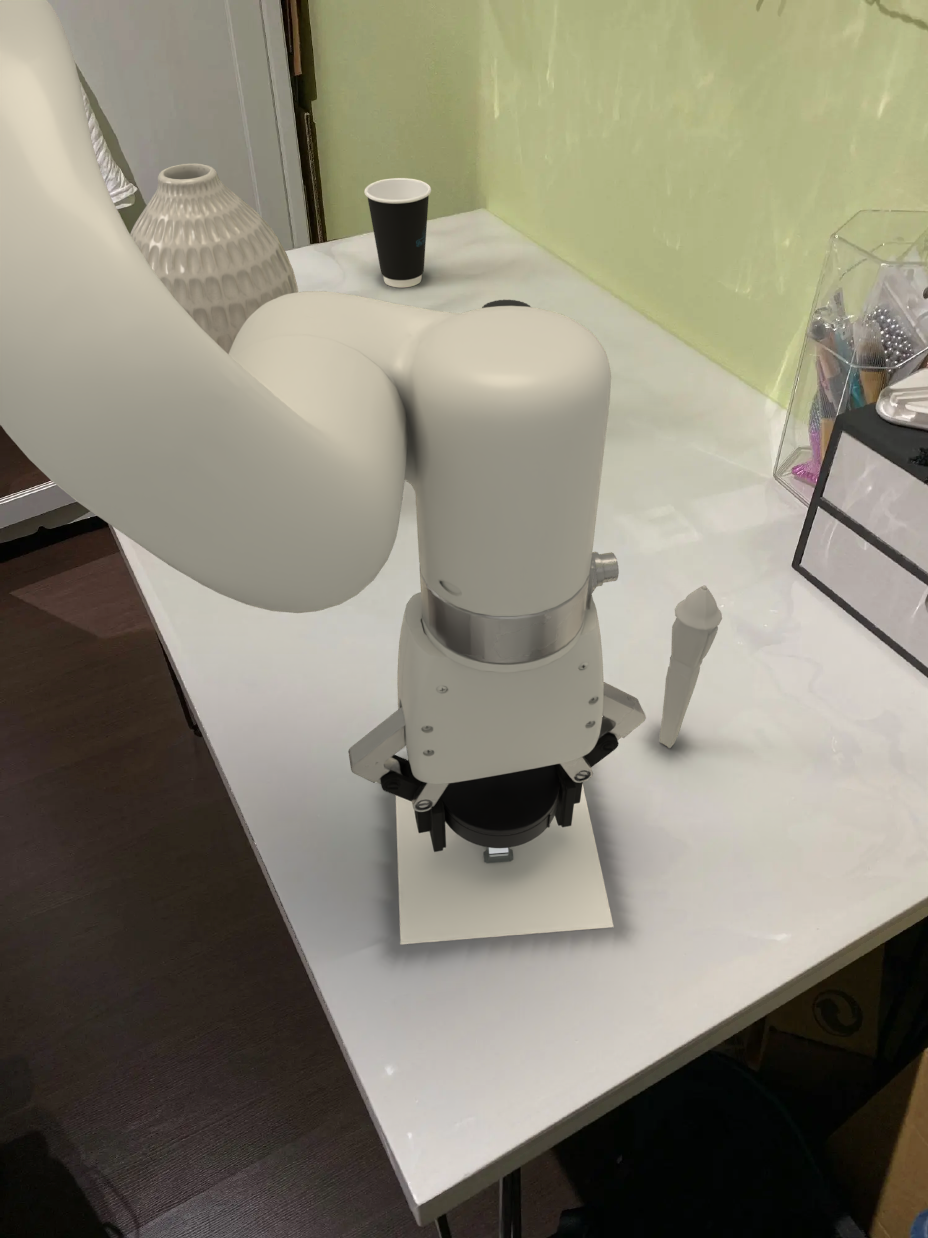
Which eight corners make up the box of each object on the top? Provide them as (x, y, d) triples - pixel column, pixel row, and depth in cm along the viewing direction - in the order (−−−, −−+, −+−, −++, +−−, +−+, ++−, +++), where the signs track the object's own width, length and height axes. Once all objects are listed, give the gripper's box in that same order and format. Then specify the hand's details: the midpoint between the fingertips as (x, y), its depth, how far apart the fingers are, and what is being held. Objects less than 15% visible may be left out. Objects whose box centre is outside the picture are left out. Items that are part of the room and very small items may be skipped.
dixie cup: (363, 272, 117) (356, 182, 109) (421, 263, 119) (417, 173, 111) (382, 296, 112) (376, 203, 104) (443, 286, 114) (440, 194, 106)
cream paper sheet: (400, 944, 50) (398, 931, 49) (394, 770, 59) (393, 756, 58) (613, 927, 51) (616, 913, 50) (576, 757, 60) (578, 743, 59)
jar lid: (581, 787, 52) (584, 769, 51) (513, 872, 48) (515, 854, 47) (484, 731, 55) (484, 713, 54) (413, 807, 51) (411, 789, 50)
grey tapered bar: (660, 722, 62) (694, 564, 52) (695, 742, 61) (737, 584, 51) (640, 744, 60) (672, 587, 51) (676, 765, 59) (715, 607, 50)
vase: (289, 352, 101) (256, 134, 86) (332, 422, 90) (303, 186, 75) (141, 381, 97) (78, 156, 81) (168, 459, 86) (102, 216, 71)
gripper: (655, 516, 45) (616, 744, 57) (304, 566, 42) (342, 793, 55) (717, 618, 40) (659, 845, 52) (319, 681, 37) (358, 905, 49)
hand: (496, 817), depth 53 cm, fingers closed on jar lid, 6 cm apart
